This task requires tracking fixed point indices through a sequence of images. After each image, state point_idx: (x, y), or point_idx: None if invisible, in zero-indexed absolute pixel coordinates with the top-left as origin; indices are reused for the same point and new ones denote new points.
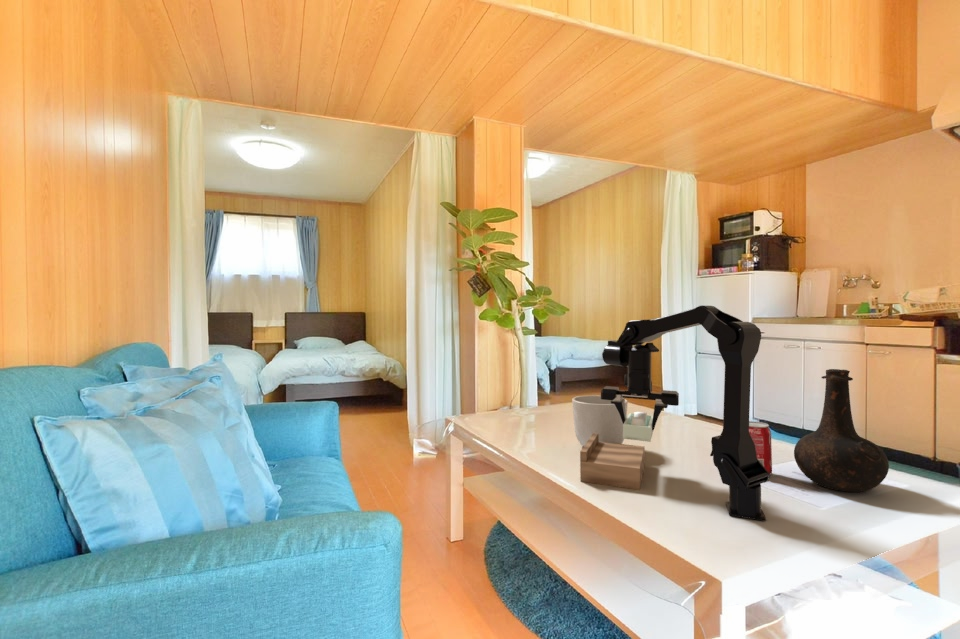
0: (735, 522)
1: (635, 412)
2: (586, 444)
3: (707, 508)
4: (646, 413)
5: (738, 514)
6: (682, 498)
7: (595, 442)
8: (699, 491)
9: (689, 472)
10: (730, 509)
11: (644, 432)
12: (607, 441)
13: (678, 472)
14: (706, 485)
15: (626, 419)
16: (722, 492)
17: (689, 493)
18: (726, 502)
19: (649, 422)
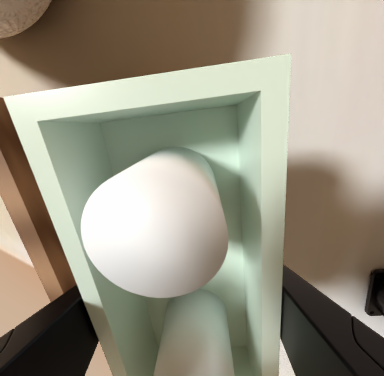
0: (367, 324)
1: (101, 252)
2: (41, 273)
3: (332, 295)
4: (225, 245)
5: (382, 314)
6: None
7: (31, 180)
8: (329, 226)
9: (321, 94)
10: (374, 301)
11: None
12: (22, 14)
13: (289, 112)
14: (352, 182)
15: (102, 339)
16: (381, 210)
17: (307, 245)
18: (375, 275)
19: (262, 350)
